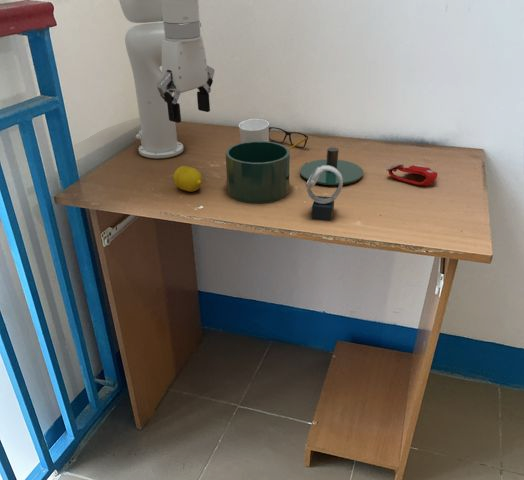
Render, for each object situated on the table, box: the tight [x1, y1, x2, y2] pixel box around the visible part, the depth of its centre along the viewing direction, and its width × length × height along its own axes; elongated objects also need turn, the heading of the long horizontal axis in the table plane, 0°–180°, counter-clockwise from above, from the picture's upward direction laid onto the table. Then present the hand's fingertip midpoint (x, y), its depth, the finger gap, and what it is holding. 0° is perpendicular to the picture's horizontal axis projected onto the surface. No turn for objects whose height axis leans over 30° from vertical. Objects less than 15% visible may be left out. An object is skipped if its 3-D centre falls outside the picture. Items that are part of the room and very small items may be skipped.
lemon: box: [173, 165, 203, 193], centre depth 137 cm, size 9×6×6 cm, turn 52°
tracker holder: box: [385, 163, 438, 187], centre depth 141 cm, size 12×4×10 cm
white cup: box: [238, 118, 270, 143], centre depth 149 cm, size 8×8×10 cm
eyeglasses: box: [269, 126, 309, 150], centre depth 158 cm, size 14×14×4 cm
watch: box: [305, 165, 344, 222], centre depth 124 cm, size 6×8×11 cm
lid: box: [299, 146, 364, 186], centre depth 143 cm, size 16×16×7 cm
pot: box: [225, 141, 291, 204], centre depth 135 cm, size 15×15×10 cm
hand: (190, 116), depth 128 cm, fingers open, 9 cm apart
